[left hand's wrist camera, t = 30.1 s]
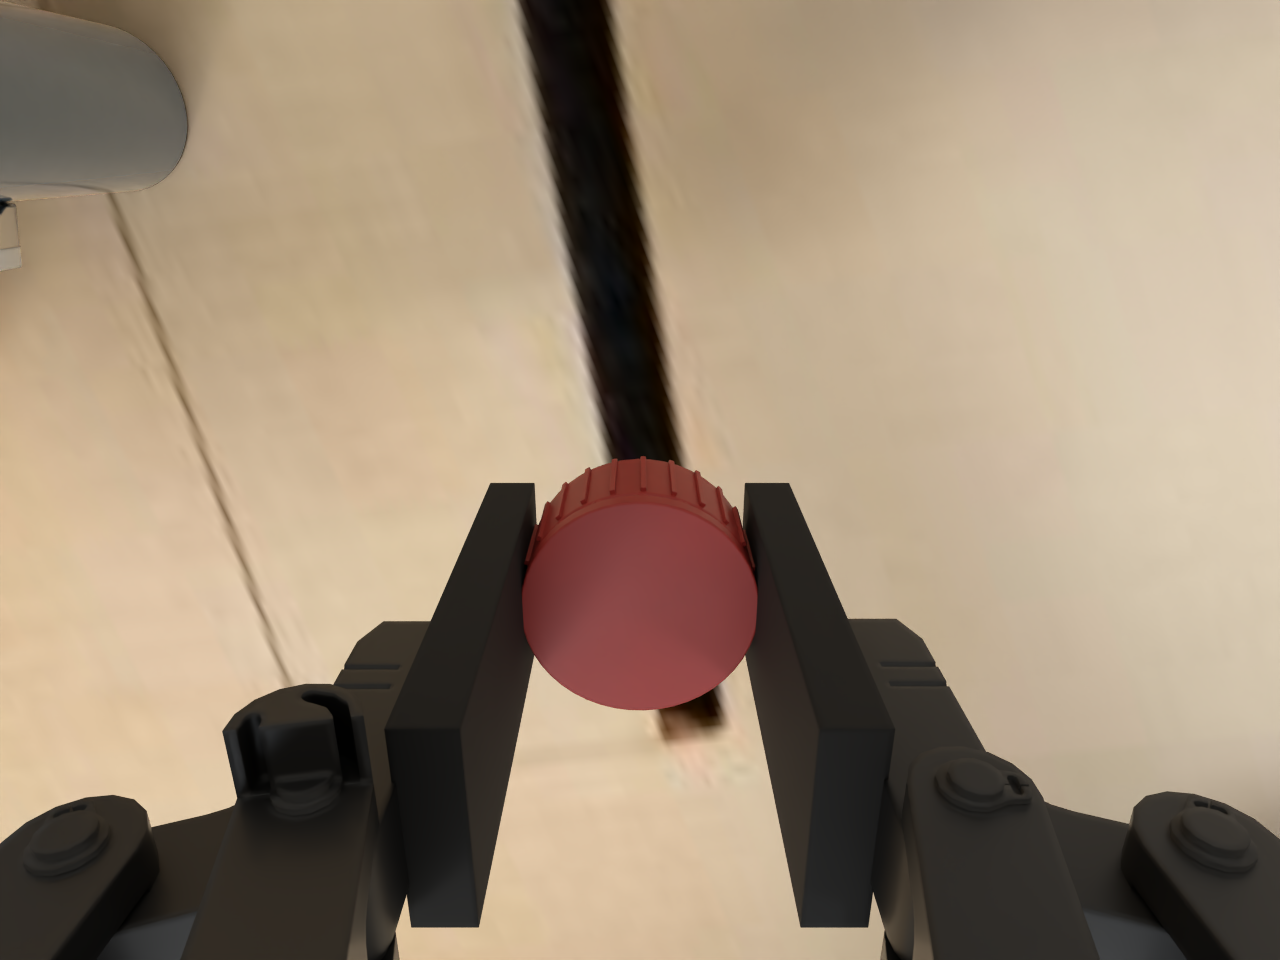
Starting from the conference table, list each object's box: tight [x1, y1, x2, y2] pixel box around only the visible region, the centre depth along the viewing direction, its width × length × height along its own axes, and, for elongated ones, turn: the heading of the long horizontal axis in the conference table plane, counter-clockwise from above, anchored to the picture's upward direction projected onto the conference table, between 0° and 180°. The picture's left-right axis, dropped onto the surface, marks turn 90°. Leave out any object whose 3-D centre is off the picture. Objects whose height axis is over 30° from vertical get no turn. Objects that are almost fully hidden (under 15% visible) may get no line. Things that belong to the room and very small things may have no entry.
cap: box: [522, 456, 758, 710], centre depth 14 cm, size 4×4×2 cm
